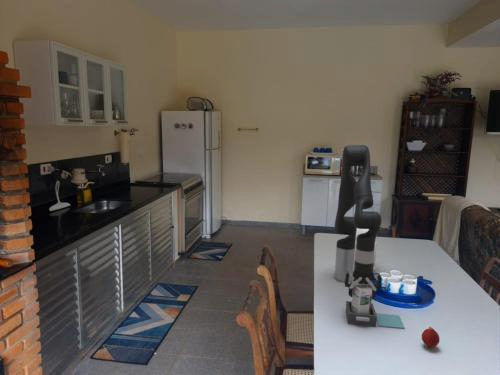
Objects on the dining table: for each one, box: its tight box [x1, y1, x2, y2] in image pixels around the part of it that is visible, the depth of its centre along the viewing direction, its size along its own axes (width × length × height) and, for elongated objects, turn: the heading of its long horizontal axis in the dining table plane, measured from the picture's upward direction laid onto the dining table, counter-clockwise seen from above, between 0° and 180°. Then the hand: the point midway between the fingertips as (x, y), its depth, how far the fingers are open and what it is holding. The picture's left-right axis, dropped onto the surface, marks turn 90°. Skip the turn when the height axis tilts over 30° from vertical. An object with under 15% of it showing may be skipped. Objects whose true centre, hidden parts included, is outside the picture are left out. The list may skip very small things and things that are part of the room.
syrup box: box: [351, 283, 373, 315], centre depth 152 cm, size 6×6×14 cm
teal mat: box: [376, 312, 406, 330], centre depth 152 cm, size 10×10×1 cm
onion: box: [421, 326, 440, 349], centre depth 134 cm, size 6×6×8 cm
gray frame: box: [344, 300, 378, 328], centre depth 153 cm, size 12×11×4 cm
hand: (361, 297), depth 152 cm, fingers open, 8 cm apart
